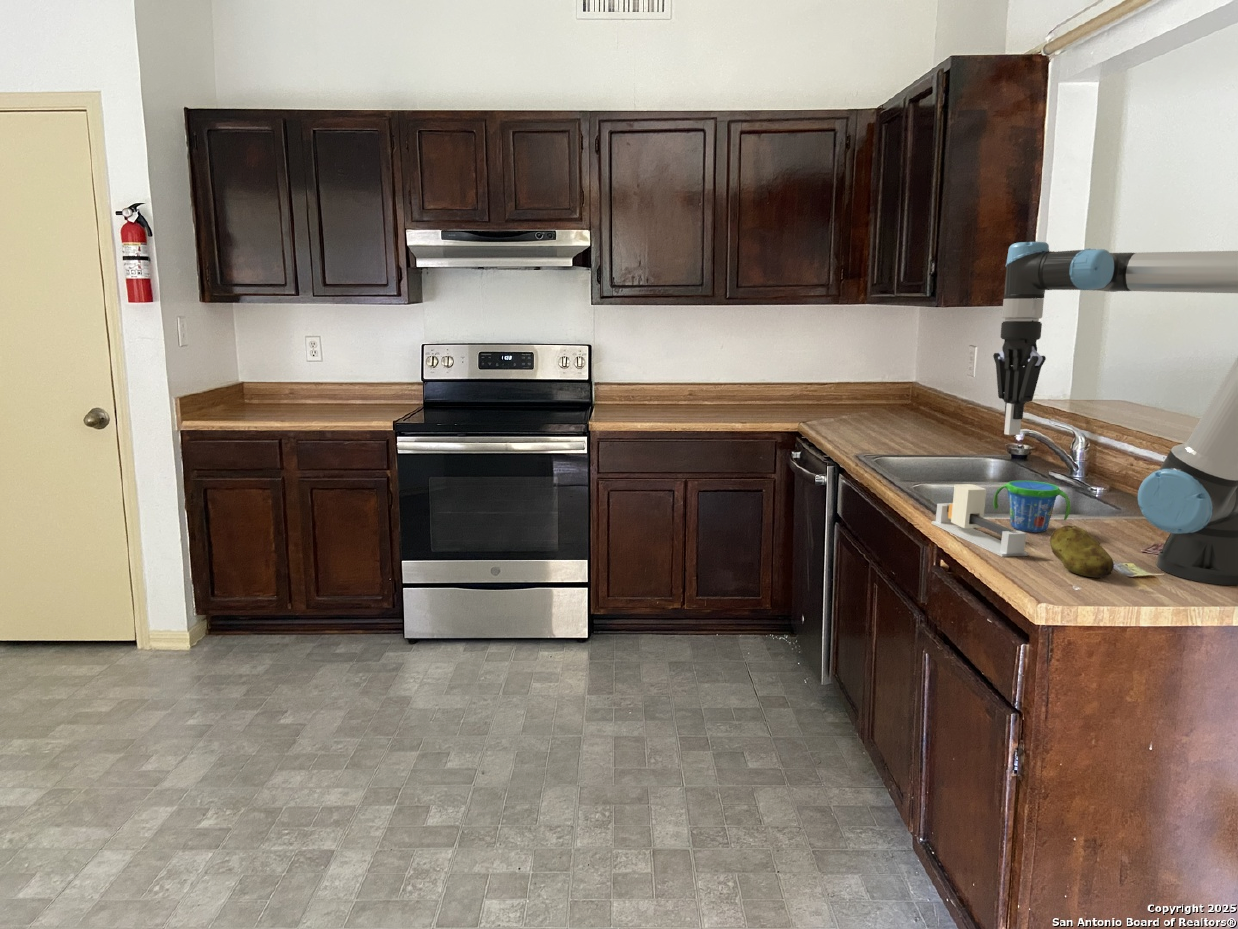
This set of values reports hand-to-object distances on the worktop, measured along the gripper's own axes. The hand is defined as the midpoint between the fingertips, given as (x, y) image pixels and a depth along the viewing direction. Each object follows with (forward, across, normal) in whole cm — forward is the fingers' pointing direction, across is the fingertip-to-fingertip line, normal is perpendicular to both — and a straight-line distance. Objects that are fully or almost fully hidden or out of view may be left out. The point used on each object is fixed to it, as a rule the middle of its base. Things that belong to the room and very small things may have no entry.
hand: (1012, 434), depth 180 cm
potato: (+24, -20, -1) cm, 31 cm away
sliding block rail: (+23, +2, +5) cm, 24 cm away
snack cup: (+23, +8, -12) cm, 27 cm away
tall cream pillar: (+21, +6, +4) cm, 22 cm away
